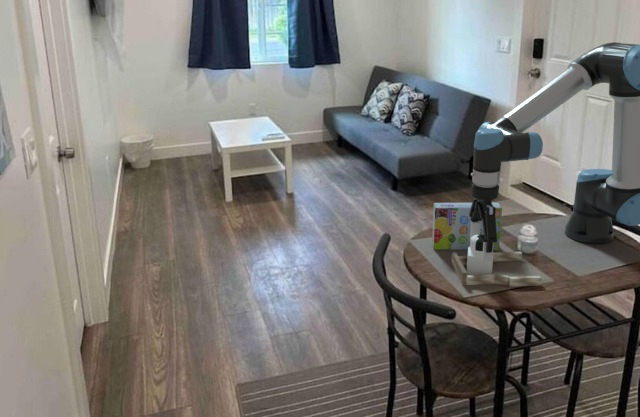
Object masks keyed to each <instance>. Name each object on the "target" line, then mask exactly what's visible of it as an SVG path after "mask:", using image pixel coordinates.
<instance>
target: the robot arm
mask: <svg viewBox="0 0 640 417" xmlns="http://www.w3.org/2000/svg"><path fill="white" fill-rule="evenodd" d="M603 83H604V84H609V85H608V96H609V97H611V98H612V99H613V102H614V106H613V130H612V131H613V135H612V157H611V159H612V160H611V161H612V162H611V169H607V168H589V169H588V168H587V169H584V170H582V171H580V172H579V173H578V175H577V180H576V182H575V184H576V185H575V192H574V202H573V209H572V210H573V211H572V213H571V215H570V217H569V219H568V220H567V222H566V224H565V226H564V227H565V229H564V234H565V235H566V236H567V237H568V238H570V239H572V240H573V241H576V242H581V243H586V244H594V245H595V244H596V245H597V244H599V245H601V244H606V243H607V244H608V243H610V242H611V241H613V239H614V234H615V230H614V226H613V222H612V219H613V220H616V221H617V222H619V223H620V224H624V225H626V226H629V227H630V226H633V227H634V226H639V225H640V44H636V43H635V44H634V43H633V44H632V43H623V42H622V43H621V42H615V41H614V42H608V43H603V44H601V45H598V46H596V47H594V48H592V49H590V50H588V51H586V52H585V53H583V54H582V55H580V56H578V57H577V58H576V59H574V60H573V61H572V62H570V63H569V64H568V66H567V69H566V70H565V71H564V72H562V73H561V74H560V75H558V76H557V77H556V78H554V79H552V80H551V81H550V82H548V83H547V84H546V85H545V86H542V88H541V89H539V90H537V91H536V92H535V93H533V94H531V96H530V97H527V98H526V99H525V100H524V101H522V102H521V103H519V104H518V105H516V107H514V108H512V109H511V110H510V111H509V112H507V113H505V114H504V115H503V116H501V117H500V118H499V119H497V120H496V121H485V122H483V123H482V124H481V125H480V126H479V127H478V130H477V131H476V132H475V138H474V143H473V159H472V161H473V162H472V165H473V166H472V172H471V173H470V176H471V178H472V179H471V180H472V181H471V182H472V184H471V192H470V194H471V197H472V202H471V203H472V205H471V209H470V213H469V216H470V217H471V221H472V222H471V232H470V242H471V237H472V236H474V235H479V234H480V225H481V222H478V221H483V229H484V236H485V239H484V240H483V255H482V262H492V259H493V253H494V250H493V246H494V242H497V232H496V217H495V212H496V208H495V207H493V205H492V203H493V201H494V200H496V199H497V198H498V197H499V194H500V185H499V184H500V183H501V171H502V170H501V168H502V163H508V162H517V161H529V160H532V159H536V158H538V157H540V156H541V155H542V153H543V149H544V148H543V147H544V143H543V139H542V136H541V135H540V134H539V133H538V132H534V131H533V132H529V131H527V130H528V129H530V128H531V127H533V126H534V125H535V124H536V123H538V122H539V121H541V120H542V119H544V118H545V117H547V116H548V115H549V114H550V113H552V112H553V111H554V110H556V109H558V108H559V107H560V106H562V105H564V103H566V102H568V100H570V99H571V98H573V97H574V96H576V95H578V94H579V93H580V92H581V91H583V90H585V91H588V90H590V89H591V88H592V87H594V86H595V85H599V84H603ZM526 131H527V132H526Z"/></svg>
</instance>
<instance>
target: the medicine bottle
mask: <svg viewBox="0 0 640 417" xmlns="http://www.w3.org/2000/svg"><path fill="white" fill-rule="evenodd" d="M484 239H485V236H484V235H482V234H479V235H474V236H472V237H471V244H470V247H468V250H467V256H468V258H467V265H466V272H467V275H493V266H494V264H493V263H494V262H493V259H492V262H482V255H483V240H484Z"/></svg>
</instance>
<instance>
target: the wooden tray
mask: <svg viewBox="0 0 640 417" xmlns="http://www.w3.org/2000/svg"><path fill="white" fill-rule="evenodd" d="M467 258H468V255H458V253H457V251H452V252H451V261H450V262H451V263H450V264H451V266H452V268H453V270H454V272H455V273H456V276H457V277H458V280H459V282H460V284H461V285H462V286H470V285H471V286H477V285H479V286H480V285H494V284H496V285H504V286H509V287H531V286H532V287H535V286H537V287H538V286H542V279H543V278H542V276H541V275H527V276H525V275H523V276H522V275H521V276H509V275H506V274H505V275H504V274H498V273H492V275H467V269H466V268H465V266H467ZM522 259H523V253H522V251H504V252H500V251H499V252H493V263H495V262H514V261H515V262H517V261H522Z"/></svg>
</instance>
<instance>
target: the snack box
mask: <svg viewBox="0 0 640 417" xmlns="http://www.w3.org/2000/svg"><path fill="white" fill-rule="evenodd" d="M471 205H472V202H434V203H433V208H432V211H433V212H432V237H431V238H432V239H431V240H432V241H431V242H432V248H433V249H434V250H447V251H448V250H451V251H452V250H453V251H455V250H457V251H458V250H460V251H463V250H465V251H466V250H467V251H468V247H470V244H471V242H470V232H471V222H472V221H471V217H470V216H469V213H470V209H471ZM492 205H493V207H495V208H496V212H495V217H496V232H497V242H494V246H493V251H499V249H500V241H501V228H502V217H503V216H502V213H503V207H502V205H501V204H500V203H499V202H492ZM478 222H481V225H480V234H482V235H484V229H483V221H478Z"/></svg>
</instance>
